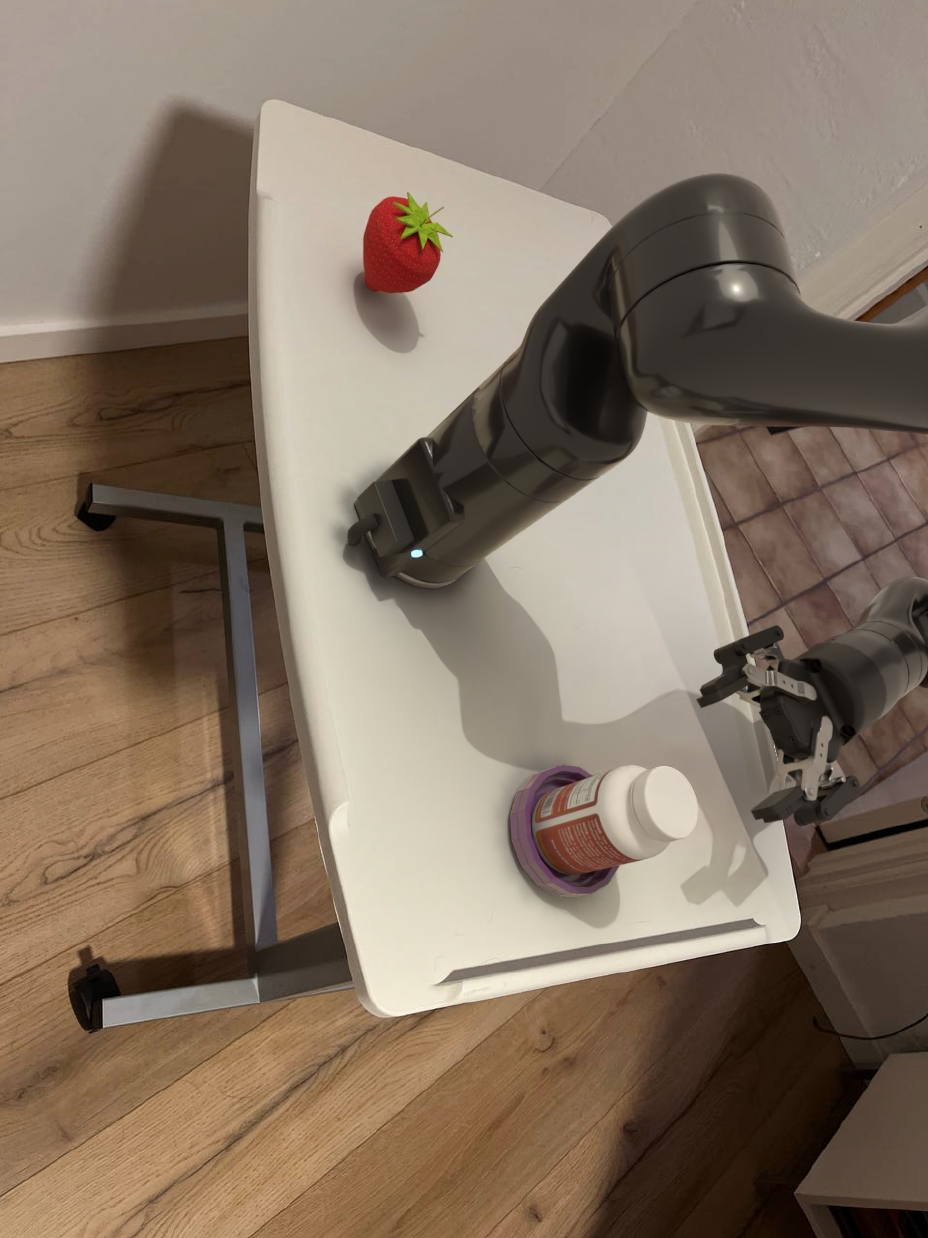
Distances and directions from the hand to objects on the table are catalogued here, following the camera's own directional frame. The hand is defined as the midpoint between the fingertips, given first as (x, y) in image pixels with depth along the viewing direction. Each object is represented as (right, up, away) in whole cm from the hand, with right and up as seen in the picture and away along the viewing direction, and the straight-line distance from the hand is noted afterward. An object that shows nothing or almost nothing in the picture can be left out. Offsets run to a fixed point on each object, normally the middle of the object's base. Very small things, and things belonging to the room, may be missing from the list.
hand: (735, 757), depth 63 cm
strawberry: (-27, +37, +13) cm, 47 cm away
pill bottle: (-12, -6, +3) cm, 14 cm away
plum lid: (-12, -6, +3) cm, 14 cm away
